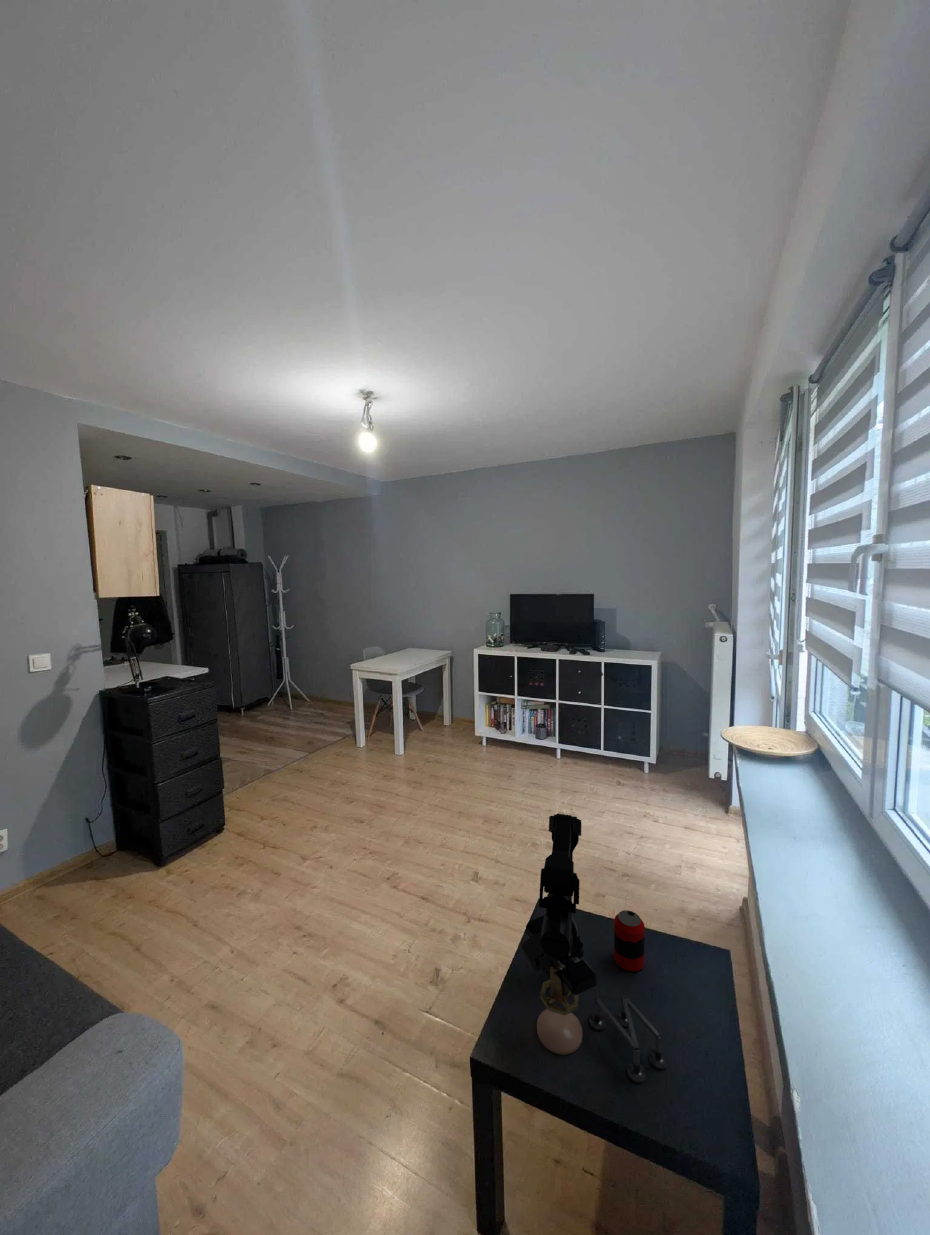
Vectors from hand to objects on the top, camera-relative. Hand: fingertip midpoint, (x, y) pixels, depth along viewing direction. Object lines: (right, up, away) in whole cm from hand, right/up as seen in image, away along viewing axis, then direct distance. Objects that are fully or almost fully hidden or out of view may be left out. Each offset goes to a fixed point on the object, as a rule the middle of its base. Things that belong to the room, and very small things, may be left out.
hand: (559, 986), depth 103 cm
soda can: (+22, -9, +20) cm, 31 cm away
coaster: (0, -11, +1) cm, 11 cm away
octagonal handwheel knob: (0, -3, 0) cm, 3 cm away
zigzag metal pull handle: (+14, -11, -1) cm, 18 cm away
